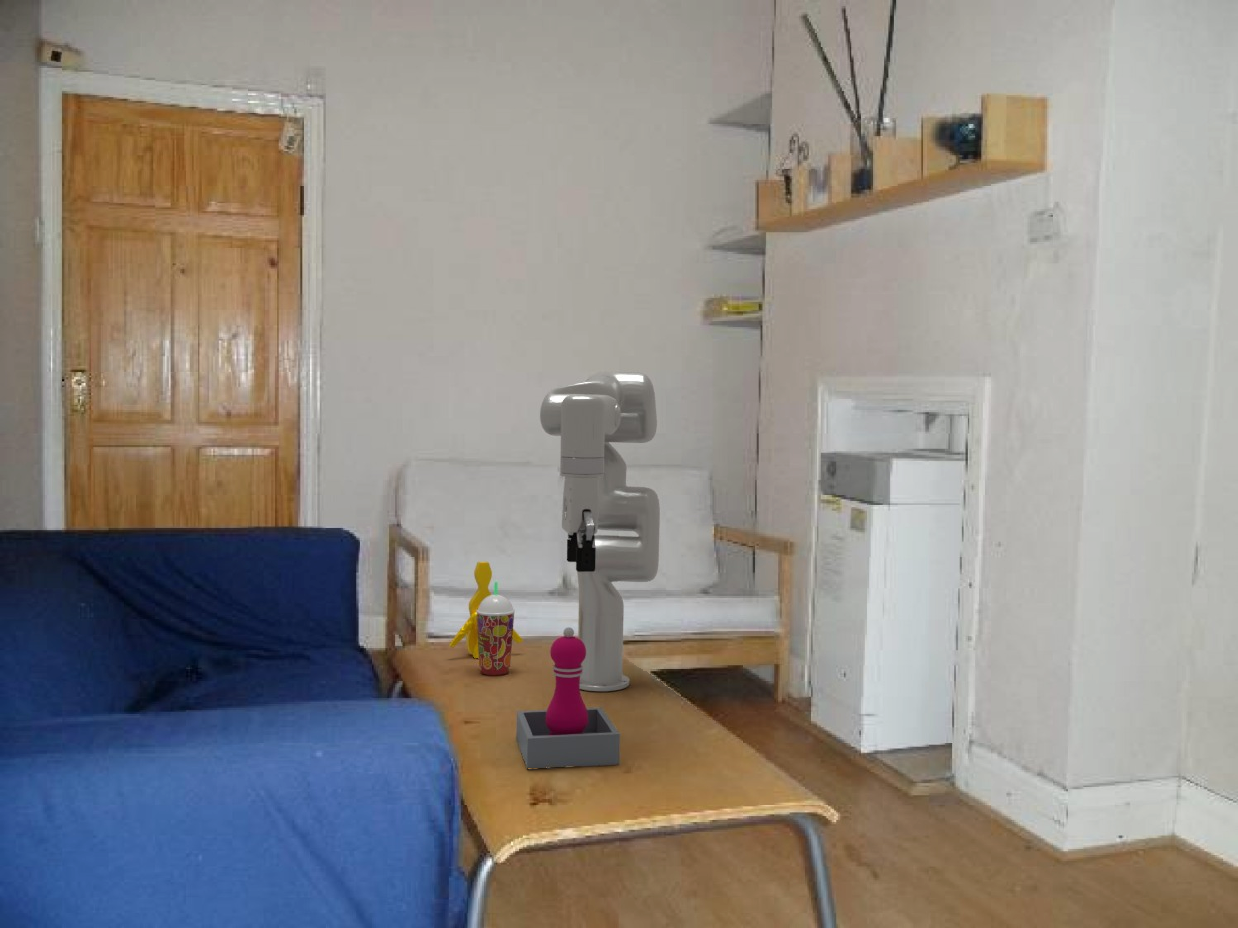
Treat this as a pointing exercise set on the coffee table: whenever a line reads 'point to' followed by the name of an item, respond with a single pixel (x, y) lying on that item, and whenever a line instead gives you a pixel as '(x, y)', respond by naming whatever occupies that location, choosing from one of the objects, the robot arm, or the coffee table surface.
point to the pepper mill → (567, 687)
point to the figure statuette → (470, 627)
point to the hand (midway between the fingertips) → (580, 566)
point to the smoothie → (495, 633)
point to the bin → (567, 741)
